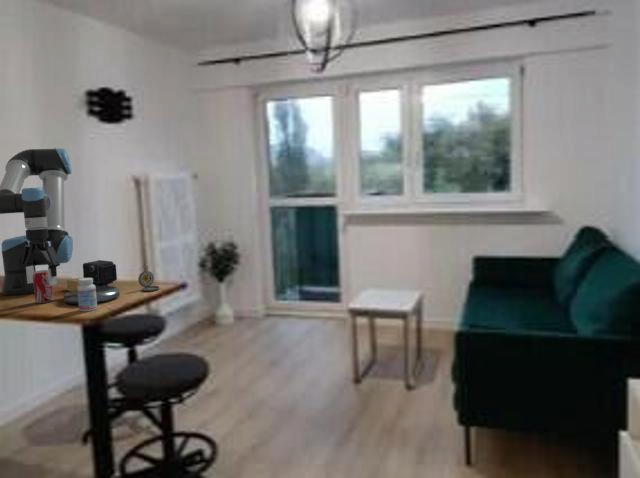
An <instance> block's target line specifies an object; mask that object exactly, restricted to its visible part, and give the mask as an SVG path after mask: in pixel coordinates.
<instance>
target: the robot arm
mask: <svg viewBox="0 0 640 478" xmlns="http://www.w3.org/2000/svg"><path fill="white" fill-rule="evenodd" d="M68 175H72V166H71V161H70V158H69V154H68V151H67V150H66V149H65V148H56V147H55V148H38V149H37V148H34V149H33V148H29V149H25V150H22V151H20V152H18V153H17V154H15V155H13V156H12V157H11V158H10V159H9V160H8V161H7V163H6V165H5V173H4V175H3V176H4V177H3V178H2V180H1V182H0V215H4V214H5V215H6V214H20V213H21V214H22V213H23V218H24V227H25V229H26V230H25V234H24V235H19V236H15V237H10V238H7V239H4V240H2V242H1V243H0V244H1V255H2V265H3V272H4V273H3V274H4V277H3V280H2V283H1V284H2V285H1V294H2V295H4V296H18V295H19V296H20V295H25V294H32V293H34V285H33V274H34V272H36V271H37V270H36V266H48V267H47V270H48V274H49V284H50V286H52V287H53V286H55V285H58V278H57V277H58V276H57V275H58V272H57V268H58V267H60V266H61V264H67V263H69V262H70V261H71V259H72V256H73V250H74V245H73V243H74V240H73V237H72V236H71V235H69V231H68V230H66V229H65V181H67V180H68V177H69V176H68ZM31 176H38V178H39V179H40V180H41V181H42V187H25V188H24V187H23V185H24V182H25V180H26V179H27V178H28V177H31Z"/></svg>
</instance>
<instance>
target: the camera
mask: <svg viewBox="0 0 640 478" xmlns="http://www.w3.org/2000/svg"><path fill="white" fill-rule="evenodd" d="M82 271H83V272H82V273H83V274H82V278H93V283H92V284H93V285H95V287H109V285H111V284H113V283H114V282H116V281H117V280H118V276H117V275H118V274H117V265H116V264H115V263H114V262H113V261H112V260H110V261H109V260H100V259H98V260H94V261H88V262H83V263H82Z"/></svg>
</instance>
